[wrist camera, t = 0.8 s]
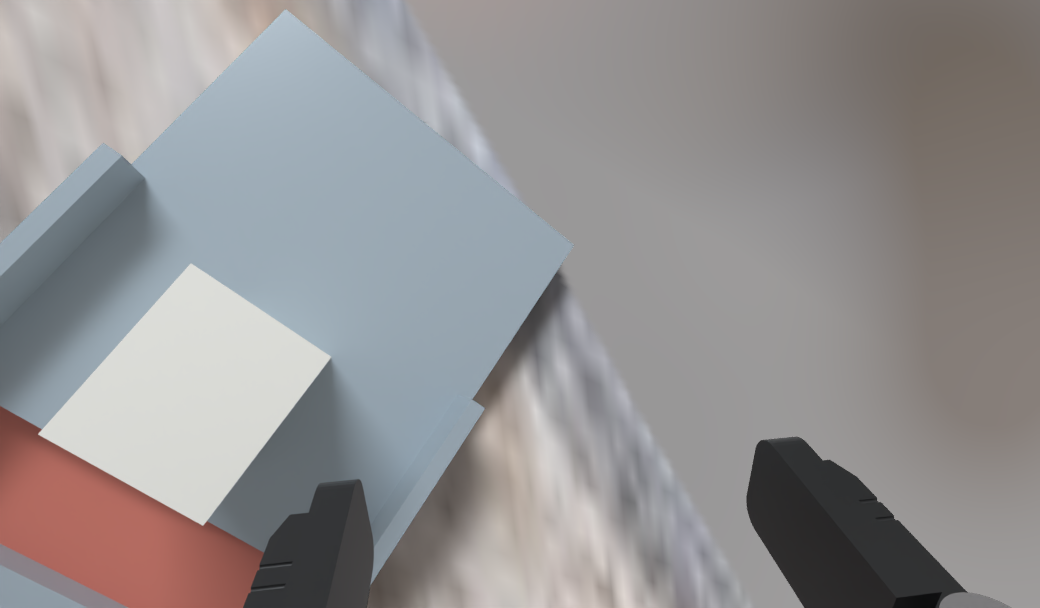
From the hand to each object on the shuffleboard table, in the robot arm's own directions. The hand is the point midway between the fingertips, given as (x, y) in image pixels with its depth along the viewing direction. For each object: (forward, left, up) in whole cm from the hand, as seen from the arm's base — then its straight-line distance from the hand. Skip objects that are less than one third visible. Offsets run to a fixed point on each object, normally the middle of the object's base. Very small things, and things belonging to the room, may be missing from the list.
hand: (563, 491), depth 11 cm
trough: (-8, +2, -20) cm, 22 cm away
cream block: (-8, +2, -18) cm, 20 cm away
